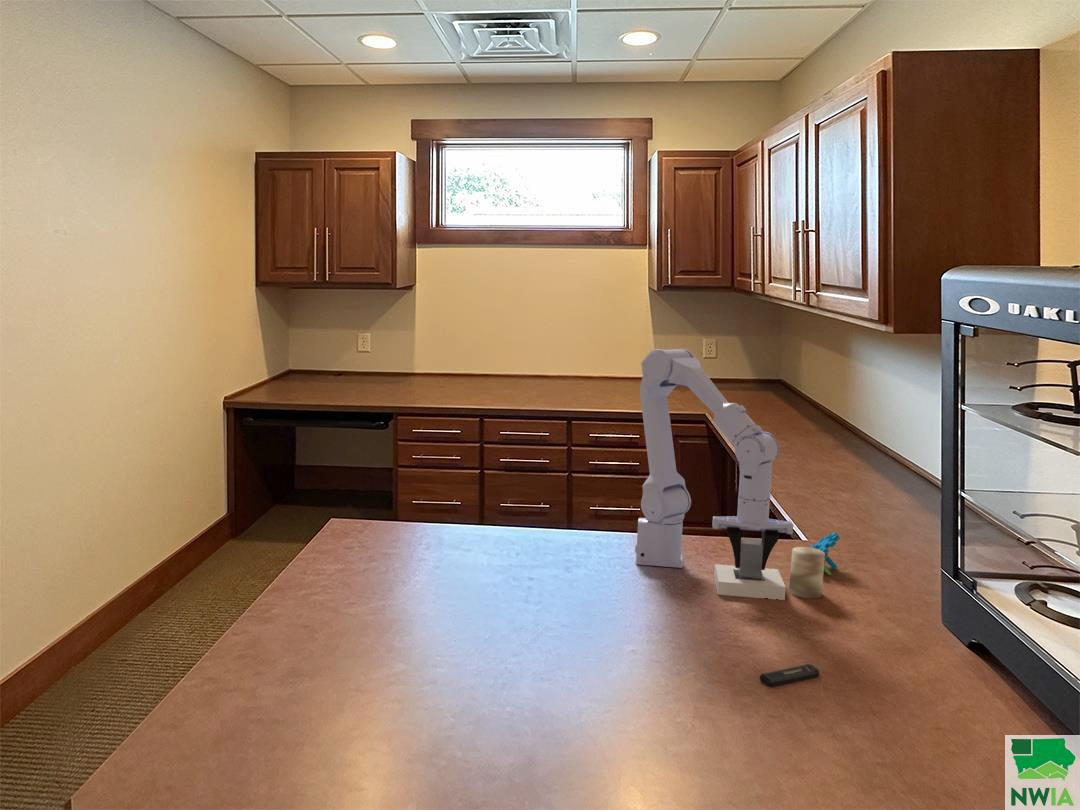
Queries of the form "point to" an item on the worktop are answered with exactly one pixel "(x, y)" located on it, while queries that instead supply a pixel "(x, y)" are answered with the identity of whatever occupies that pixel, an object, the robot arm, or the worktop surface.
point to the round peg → (807, 572)
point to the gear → (824, 545)
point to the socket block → (749, 583)
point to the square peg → (750, 559)
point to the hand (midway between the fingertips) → (749, 567)
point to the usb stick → (789, 675)
